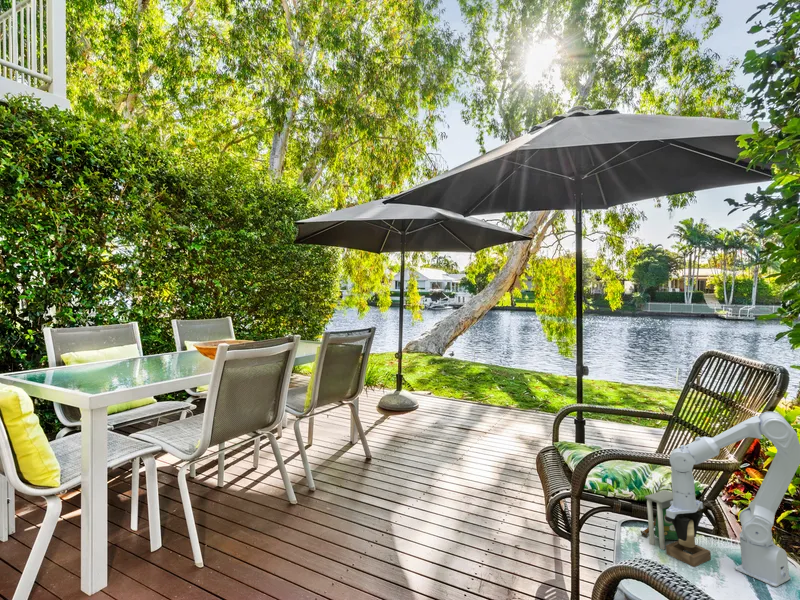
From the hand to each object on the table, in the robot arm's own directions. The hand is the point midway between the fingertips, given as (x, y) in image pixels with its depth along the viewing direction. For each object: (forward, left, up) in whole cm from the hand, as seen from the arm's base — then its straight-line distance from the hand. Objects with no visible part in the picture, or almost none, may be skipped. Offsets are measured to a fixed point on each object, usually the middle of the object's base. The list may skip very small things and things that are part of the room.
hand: (686, 537), depth 127 cm
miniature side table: (+8, -2, -6) cm, 10 cm away
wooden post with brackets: (+14, -4, -6) cm, 16 cm away
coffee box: (+9, -5, -5) cm, 11 cm away
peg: (0, 0, -2) cm, 2 cm away
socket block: (0, 0, -6) cm, 6 cm away
